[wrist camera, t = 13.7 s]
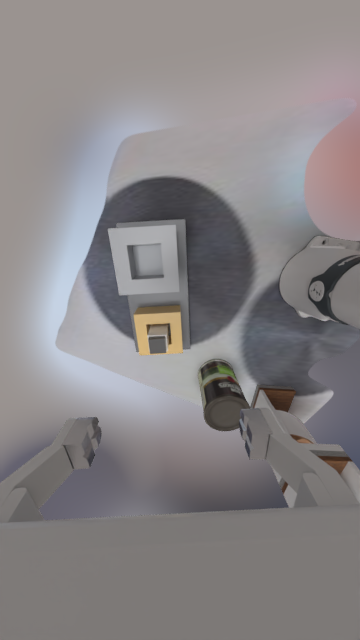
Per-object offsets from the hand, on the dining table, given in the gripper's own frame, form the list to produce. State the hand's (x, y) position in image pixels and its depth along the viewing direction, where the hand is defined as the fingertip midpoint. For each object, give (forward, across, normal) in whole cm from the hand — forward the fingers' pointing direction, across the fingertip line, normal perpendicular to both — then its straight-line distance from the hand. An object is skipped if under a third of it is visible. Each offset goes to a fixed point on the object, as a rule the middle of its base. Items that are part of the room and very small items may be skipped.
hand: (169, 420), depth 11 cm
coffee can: (+37, -10, +26) cm, 46 cm away
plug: (+35, +4, +9) cm, 36 cm away
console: (+37, +4, +1) cm, 37 cm away
